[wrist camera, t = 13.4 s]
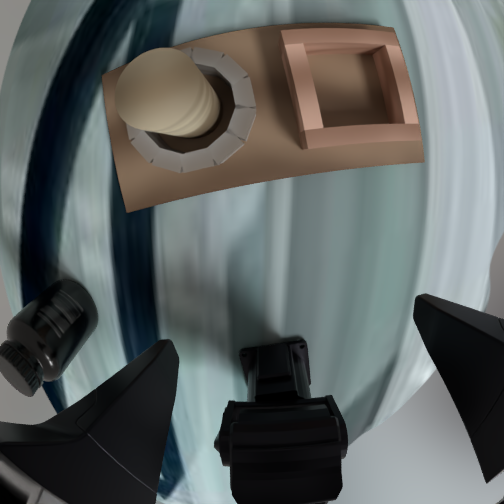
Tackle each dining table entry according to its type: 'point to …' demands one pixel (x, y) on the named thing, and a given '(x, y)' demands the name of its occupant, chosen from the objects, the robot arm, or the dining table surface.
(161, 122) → the round peg
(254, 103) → the socket board
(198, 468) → the dining table surface
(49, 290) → the supplement bottle
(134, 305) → the dining table surface
